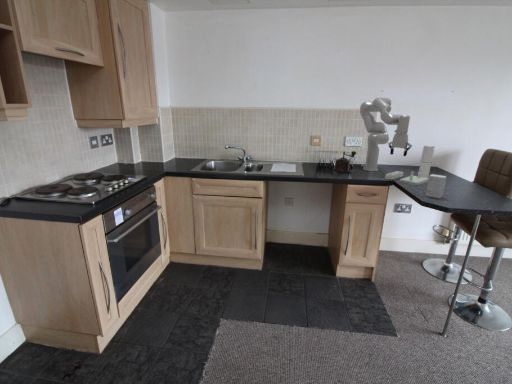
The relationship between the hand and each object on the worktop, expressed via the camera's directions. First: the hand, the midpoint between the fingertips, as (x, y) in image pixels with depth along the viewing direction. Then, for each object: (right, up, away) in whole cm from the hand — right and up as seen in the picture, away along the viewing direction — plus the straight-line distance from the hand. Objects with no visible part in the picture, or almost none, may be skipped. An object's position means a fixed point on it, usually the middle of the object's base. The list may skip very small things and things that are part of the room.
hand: (398, 155), depth 215 cm
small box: (+1, -31, -41) cm, 51 cm away
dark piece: (-33, -11, +24) cm, 42 cm away
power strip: (0, -17, +5) cm, 18 cm away
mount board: (+9, -20, -6) cm, 23 cm away
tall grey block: (+23, -17, +7) cm, 30 cm away
